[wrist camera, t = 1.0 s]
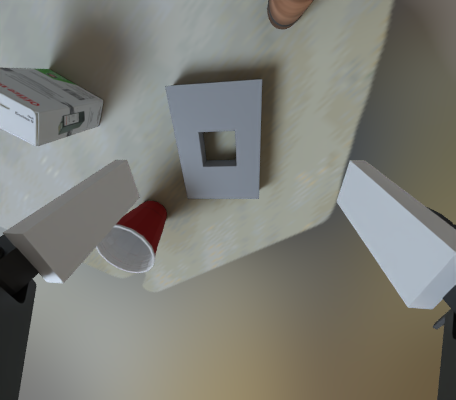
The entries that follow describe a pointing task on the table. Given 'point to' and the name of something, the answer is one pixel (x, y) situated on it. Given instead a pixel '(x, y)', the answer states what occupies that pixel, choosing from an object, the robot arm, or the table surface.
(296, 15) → the peg
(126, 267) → the plastic cup
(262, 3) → the table surface
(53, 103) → the ink box
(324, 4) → the table surface
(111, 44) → the table surface
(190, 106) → the board
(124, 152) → the table surface
